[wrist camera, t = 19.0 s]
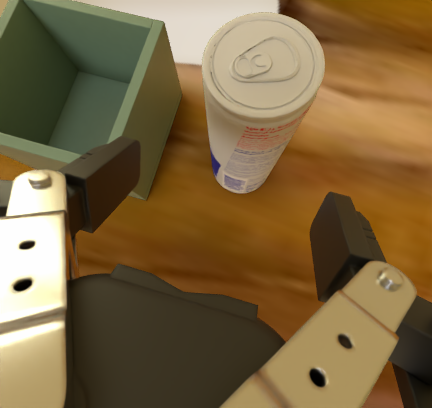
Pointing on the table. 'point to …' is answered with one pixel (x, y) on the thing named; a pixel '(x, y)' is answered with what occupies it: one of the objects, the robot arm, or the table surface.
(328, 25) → the table surface
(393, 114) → the table surface
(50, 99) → the crate
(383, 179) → the table surface
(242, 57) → the beverage can
